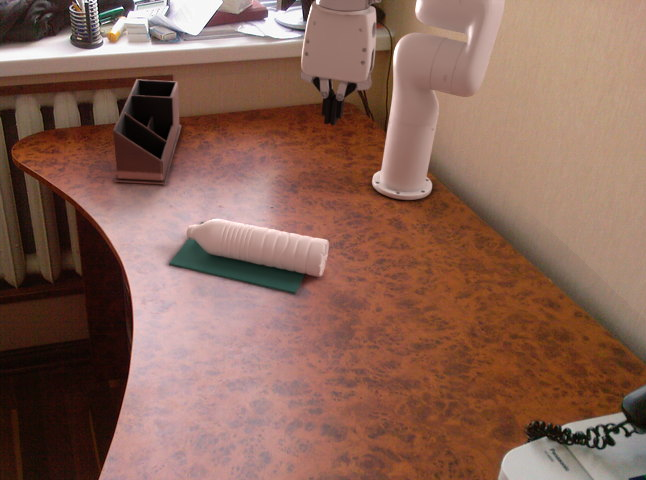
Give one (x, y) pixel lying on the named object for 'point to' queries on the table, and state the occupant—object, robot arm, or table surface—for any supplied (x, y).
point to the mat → (236, 268)
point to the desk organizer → (147, 132)
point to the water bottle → (262, 246)
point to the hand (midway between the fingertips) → (331, 121)
